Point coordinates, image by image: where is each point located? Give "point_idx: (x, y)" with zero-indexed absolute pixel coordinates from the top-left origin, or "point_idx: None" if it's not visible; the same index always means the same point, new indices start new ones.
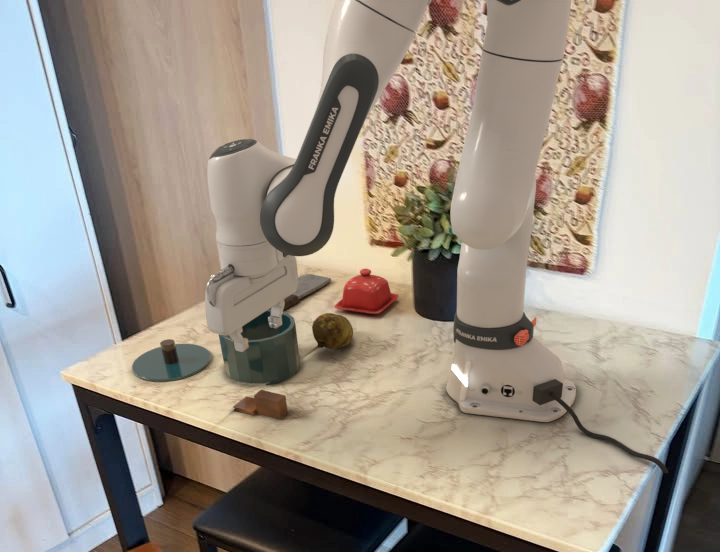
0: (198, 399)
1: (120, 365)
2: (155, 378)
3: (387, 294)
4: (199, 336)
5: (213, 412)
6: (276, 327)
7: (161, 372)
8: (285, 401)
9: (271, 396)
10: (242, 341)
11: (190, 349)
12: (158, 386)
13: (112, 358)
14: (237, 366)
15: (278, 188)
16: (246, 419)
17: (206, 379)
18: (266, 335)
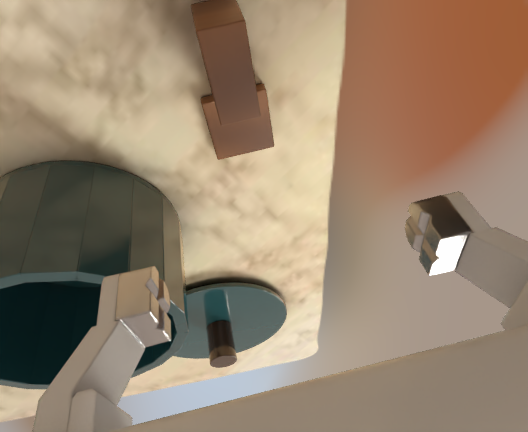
0: (277, 220)
1: (265, 345)
2: (278, 301)
3: None
4: None
5: (302, 165)
6: (154, 270)
7: (257, 309)
8: (199, 20)
9: (232, 67)
10: (493, 231)
11: None
12: (281, 286)
13: (257, 360)
14: (180, 249)
15: None
16: (287, 83)
17: (211, 262)
18: (22, 312)
